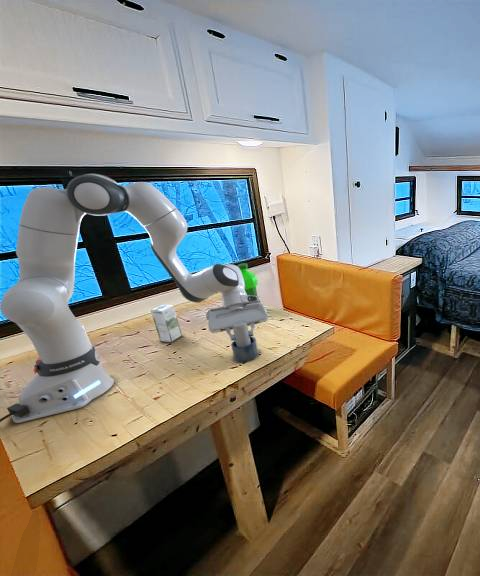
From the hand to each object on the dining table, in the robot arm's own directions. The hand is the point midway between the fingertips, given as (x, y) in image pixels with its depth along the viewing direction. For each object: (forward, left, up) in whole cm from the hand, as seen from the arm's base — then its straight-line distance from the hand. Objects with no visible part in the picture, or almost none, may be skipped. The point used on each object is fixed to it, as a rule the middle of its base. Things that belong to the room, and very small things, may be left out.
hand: (242, 337), depth 112 cm
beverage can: (0, +1, -7) cm, 7 cm away
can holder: (0, +1, -8) cm, 8 cm away
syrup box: (-23, +35, -8) cm, 42 cm away
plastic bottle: (+11, +41, -8) cm, 43 cm away
